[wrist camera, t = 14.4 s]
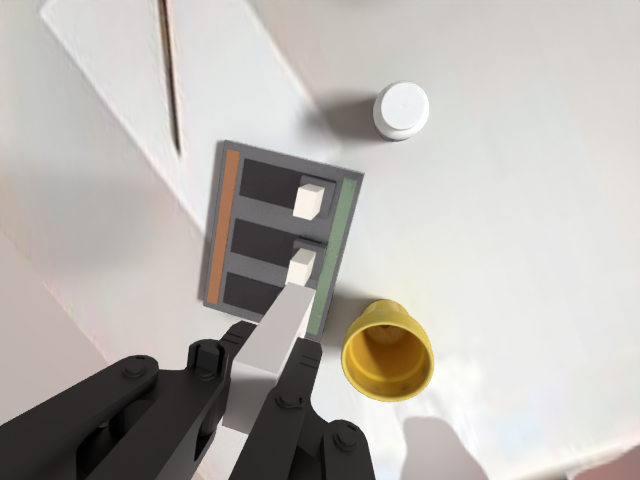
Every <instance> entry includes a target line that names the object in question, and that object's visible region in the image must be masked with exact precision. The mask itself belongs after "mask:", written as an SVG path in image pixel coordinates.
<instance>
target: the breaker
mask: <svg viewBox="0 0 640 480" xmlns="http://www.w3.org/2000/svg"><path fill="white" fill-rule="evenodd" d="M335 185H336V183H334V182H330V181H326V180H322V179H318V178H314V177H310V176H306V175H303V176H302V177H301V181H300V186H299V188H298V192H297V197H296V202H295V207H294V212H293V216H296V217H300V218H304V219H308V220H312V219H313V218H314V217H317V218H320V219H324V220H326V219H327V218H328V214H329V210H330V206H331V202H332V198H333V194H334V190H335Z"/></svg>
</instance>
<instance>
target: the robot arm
mask: <svg viewBox="0 0 640 480" xmlns="http://www.w3.org/2000/svg"><path fill="white" fill-rule="evenodd" d="M315 292H316V290H315V289H311V288H308V287H304V286H301V285H298V284H294V283H291V282H288V283H287V285H286V286H285V287H284V289H283V290H282V292H281V293H280V294H279V296H278V297H277V299H276V300H275V302H274V303H273V304H272V306H271V307H270V309H269V310H268V311H267V313H266V314H265V316H264V317H263V319H262V320H261V321H260V323H259V324H258V325H255V324H252V323H249V322H245V321H240V322H238V323H236V324H234V325H232V326H231V327H230V329H229V330H228V331H227V332H226V334H224V336H223V337H222V338H221V339H220V340H219V341H218V340H213V339H204V340H199V341H196V342H194V343H193V344H191V345H190V346H189V352H188V360H187V367H186V368H185V369H184V370H161V369H159V366H158V362H157V361H156V360H155V359H154V358H152V357H150V356H147V355H134V356H129V357H126V358H124V359H121V360H119V361H118V362H116V363H114V364H112V365H110V366H108V367H107V368H105V369H103V370H101V371H99V372H98V373H96V374H94V375H92V376H90V377H88V378H87V379H85V380H83V381H81V382H79V383H77V384H76V385H74V386H72V387H70V388H68V389H67V390H65V391H63V392H61V393H59V394H57V395H56V396H54V397H52V398H50V399H48V400H46V401H45V402H43V403H41V404H40V405H37V406H36V407H34V408H32V409H30V410H28V411H26V412H25V413H23V414H21V415H19V416H17V417H15V418H14V419H12V420H10V421H8V422H6V423H4V424H3V425H1V426H0V480H191V478H192V477H193V475H194V473H195V471H196V470H197V468H198V466H199V464H200V463H201V461H202V459H203V457H204V456H205V454H206V452H207V450H208V449H209V447H210V445H211V443H212V442H213V440H214V437H215V434H216V429H217V425H218V423H219V421H220V420H221V418H222V416H223V421H222V426H225V427H228V428H231V429H234V430H237V431H240V432H242V433H245V434H248V435H249V436H248V438H247V440H246V442H245V445H244V447H243V449H242V451H241V453H240V455H239V458H238V460H237V462H236V464H235V466H234V468H233V471H232V473H231V475H230V477H229V479H228V480H376V479H375V475H374V470H373V465H372V461H371V456H370V452H369V447H368V443H367V440H366V437H365V435H364V433H363V432H362V431H361V430H360V428H359V427H358V426H356V425H355V424H353V423H352V422H349V421H346V420H334V421H332V422H330V423H328V422H327V421H325V420H324V419H322V418H321V417H320V416H319V415H317V413H316V412H315V411H314V409H313V407H312V405H311V401H310V398H311V393H312V390H313V386H314V382H315V379H316V375H317V371H318V368H319V364H320V360H321V357H322V353H323V352H322V349H321V345H320V343H316V342H313V341H310V340H307V339H304V336H305V333H306V329H307V325H308V321H309V317H310V313H311V309H312V305H313V301H314V297H315Z"/></svg>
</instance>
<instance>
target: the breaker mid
mask: <svg viewBox="0 0 640 480" xmlns="http://www.w3.org/2000/svg"><path fill="white" fill-rule="evenodd" d="M326 248H327V245H323V244H319V243H316V242H312V241H308V240H305V239H301V238H296V240H295V241H294V245H293V249H292V254H291V259H290V264H289V268H288V274H287V279H286V283H285V285H287V283H288V282H291V283H294V284H298V285H301V286H304V285H305V284H306V282H307V280H308V278H309V279H312V280H316V281H318V278H319V276H320V272H321V268H322V264H323V260H324V256H325V252H326Z"/></svg>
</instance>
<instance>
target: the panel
mask: <svg viewBox="0 0 640 480" xmlns="http://www.w3.org/2000/svg"><path fill="white" fill-rule="evenodd" d="M364 174H365V173H362V172H358V171H354V170H350V169H346V168H342V167H338V166H334V165H330V164H326V163H322V162H317V161H313V160H309V159H305V158H301V157H297V156H293V155H289V154H285V153H281V152H277V151H273V150H269V149H264V148H260V147H256V146H252V145H248V144H244V143H240V142H236V141H232V140H225V143H224V151H223V158H222V166H221V174H220V181H219V189H218V196H217V204H216V211H215V219H214V227H213V234H212V242H211V249H210V257H209V264H208V272H207V280H206V287H205V295H204V302H203V306H205V307H209V308H212V309H215V310H219V311H222V312H225V313H228V314H232V315H235V316H238V317H241V318H245V319H248V320H251V321H254V322H258V323H260V321H261V320H262V319H263V317H264V316H265V314H266V313H267V311H268V310H269V309H270V307H271V306H272V304H273V303H274V302H275V300H276V297H277V294H278V293H279V292H280V290H281V291H282V290H283V289H284V287H285V286H286V285H285V283H286V279H287V274H288V268H289V264H290V259H291V254H292V249H293V245H294V241H295V240H296V238H301V239H305V240H308V241H312V242H316V243H319V244H323V245H327V248H326V252H325V256H324V260H323V264H322V268H321V272H320V276H319V278H318V281H316V280H312V279H309V278H308V280H307V282H306V284H305V285H304V287H308V288H311V289H315V290H316V292H315V297H314V301H313V305H312V309H311V313H310V317H309V321H308V325H307V329H306V333H305V336H304V337H306V338H310V339H313V340H316V341H319V342H320V339H321V336H322V333H323V329H324V325H325V321H326V318H327V314H328V310H329V306H330V303H331V299H332V295H333V291H334V287H335V284H336V280H337V276H338V272H339V269H340V265H341V261H342V257H343V253H344V250H345V246H346V242H347V238H348V235H349V231H350V227H351V223H352V220H353V216H354V212H355V208H356V204H357V201H358V197H359V193H360V189H361V186H362V182H363V178H364ZM303 175H306V176H310V177H314V178H318V179H322V180H326V181H330V182H334V183H336V185H335V190H334V194H333V198H332V202H331V206H330V210H329V214H328V218H327V219H326V220H324V219H320V218H317V217H314V218H313V219H312V220H308V219H304V218H300V217H296V216H293V212H294V207H295V202H296V197H297V192H298V188H299V186H300V181H301V177H302V176H303Z"/></svg>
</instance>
